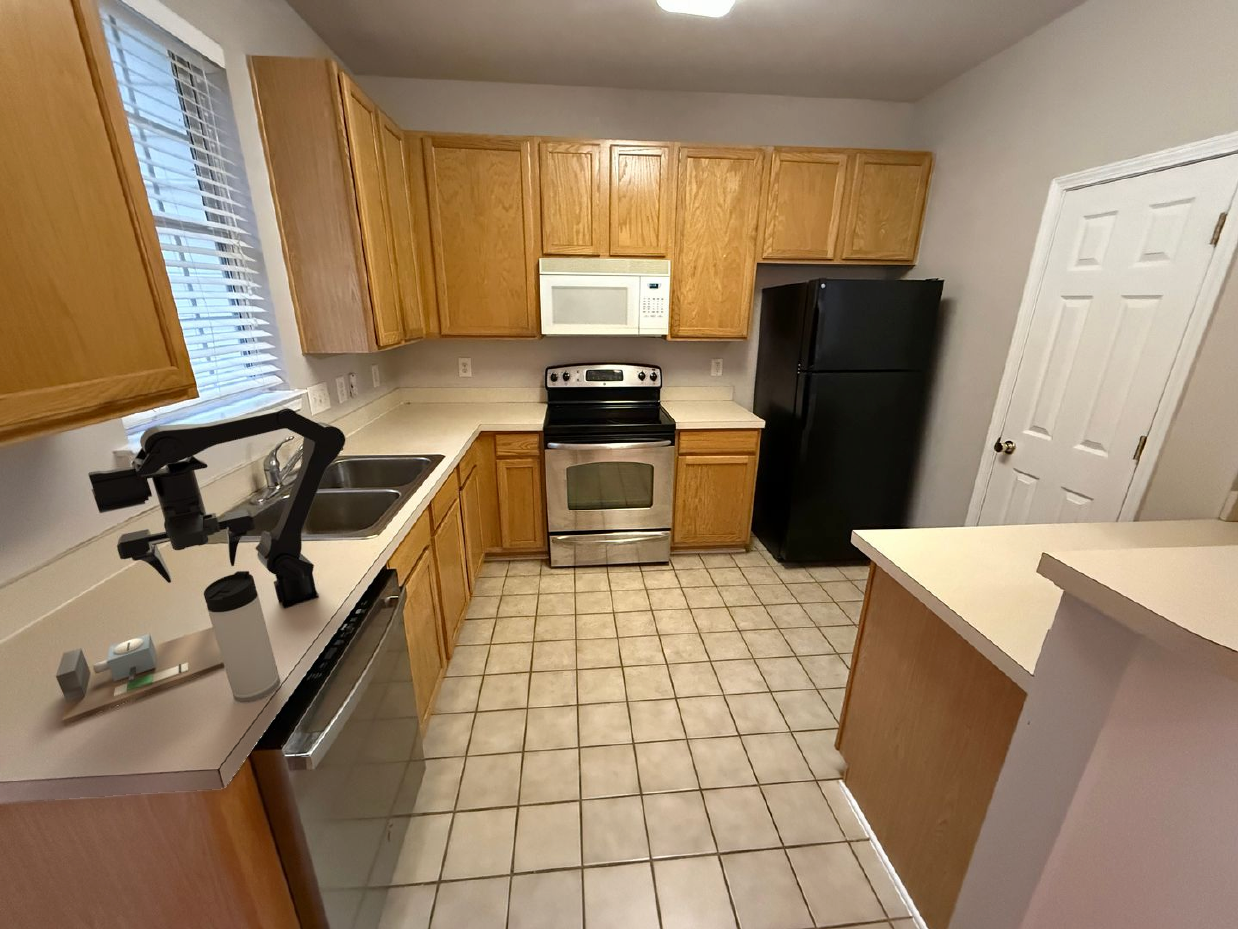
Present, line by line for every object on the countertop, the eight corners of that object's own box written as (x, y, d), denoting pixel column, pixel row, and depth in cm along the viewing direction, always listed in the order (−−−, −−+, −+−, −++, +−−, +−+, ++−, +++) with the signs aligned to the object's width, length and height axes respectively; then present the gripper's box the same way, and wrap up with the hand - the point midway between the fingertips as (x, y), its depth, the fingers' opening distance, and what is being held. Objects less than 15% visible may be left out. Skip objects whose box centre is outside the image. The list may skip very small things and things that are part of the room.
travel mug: (289, 673, 84) (264, 569, 78) (264, 703, 78) (234, 592, 72) (252, 674, 84) (223, 570, 78) (224, 704, 77) (190, 593, 71)
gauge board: (237, 623, 97) (230, 597, 96) (244, 660, 87) (236, 631, 85) (77, 675, 84) (65, 645, 82) (64, 725, 74) (50, 692, 72)
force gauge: (156, 652, 87) (149, 631, 86) (154, 679, 81) (146, 657, 80) (100, 671, 83) (92, 649, 82) (94, 700, 76) (85, 677, 75)
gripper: (101, 524, 76) (131, 611, 81) (248, 496, 88) (267, 573, 93) (108, 504, 84) (135, 584, 89) (242, 480, 96) (260, 552, 101)
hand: (202, 573), depth 93 cm, fingers open, 9 cm apart
